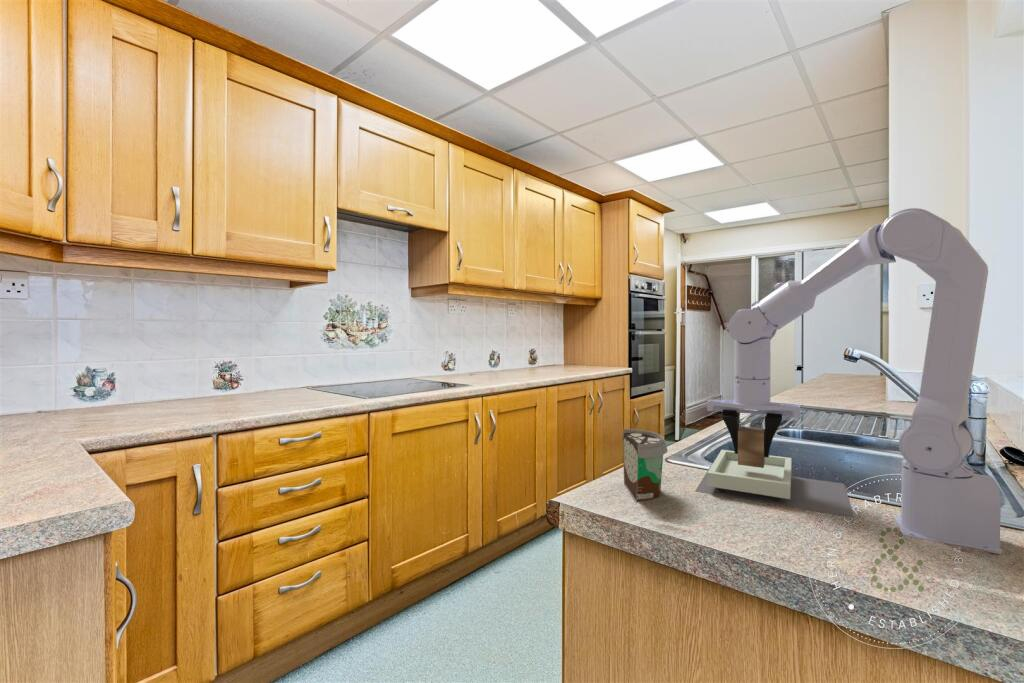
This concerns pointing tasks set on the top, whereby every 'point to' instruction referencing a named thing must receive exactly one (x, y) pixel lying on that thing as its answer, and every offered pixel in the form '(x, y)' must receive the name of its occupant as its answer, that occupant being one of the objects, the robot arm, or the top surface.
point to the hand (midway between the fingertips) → (751, 454)
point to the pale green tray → (751, 475)
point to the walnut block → (751, 446)
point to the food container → (643, 463)
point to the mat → (797, 496)
